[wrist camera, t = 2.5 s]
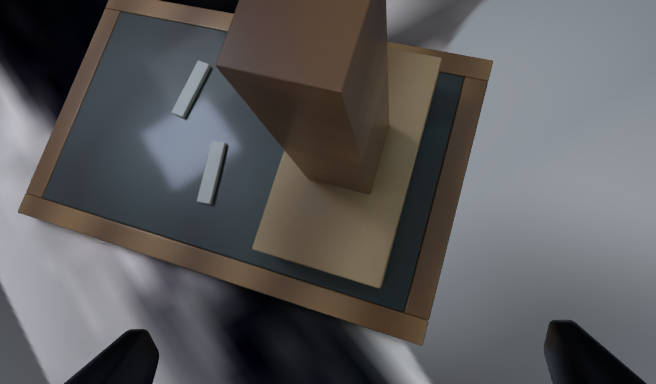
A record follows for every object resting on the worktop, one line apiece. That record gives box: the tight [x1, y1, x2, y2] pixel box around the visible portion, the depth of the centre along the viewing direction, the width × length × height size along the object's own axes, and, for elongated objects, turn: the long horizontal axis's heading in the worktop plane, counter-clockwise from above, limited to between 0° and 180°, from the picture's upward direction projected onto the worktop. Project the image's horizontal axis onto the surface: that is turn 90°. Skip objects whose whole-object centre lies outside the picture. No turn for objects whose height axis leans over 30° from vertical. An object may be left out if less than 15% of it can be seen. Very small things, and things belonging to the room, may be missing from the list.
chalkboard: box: [18, 0, 493, 346], centre depth 24 cm, size 24×15×1 cm, turn 73°
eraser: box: [216, 0, 442, 288], centre depth 15 cm, size 6×11×13 cm, turn 163°
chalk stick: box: [197, 141, 227, 204], centre depth 23 cm, size 1×4×1 cm, turn 169°
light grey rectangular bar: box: [171, 60, 211, 118], centre depth 24 cm, size 1×4×1 cm, turn 155°
